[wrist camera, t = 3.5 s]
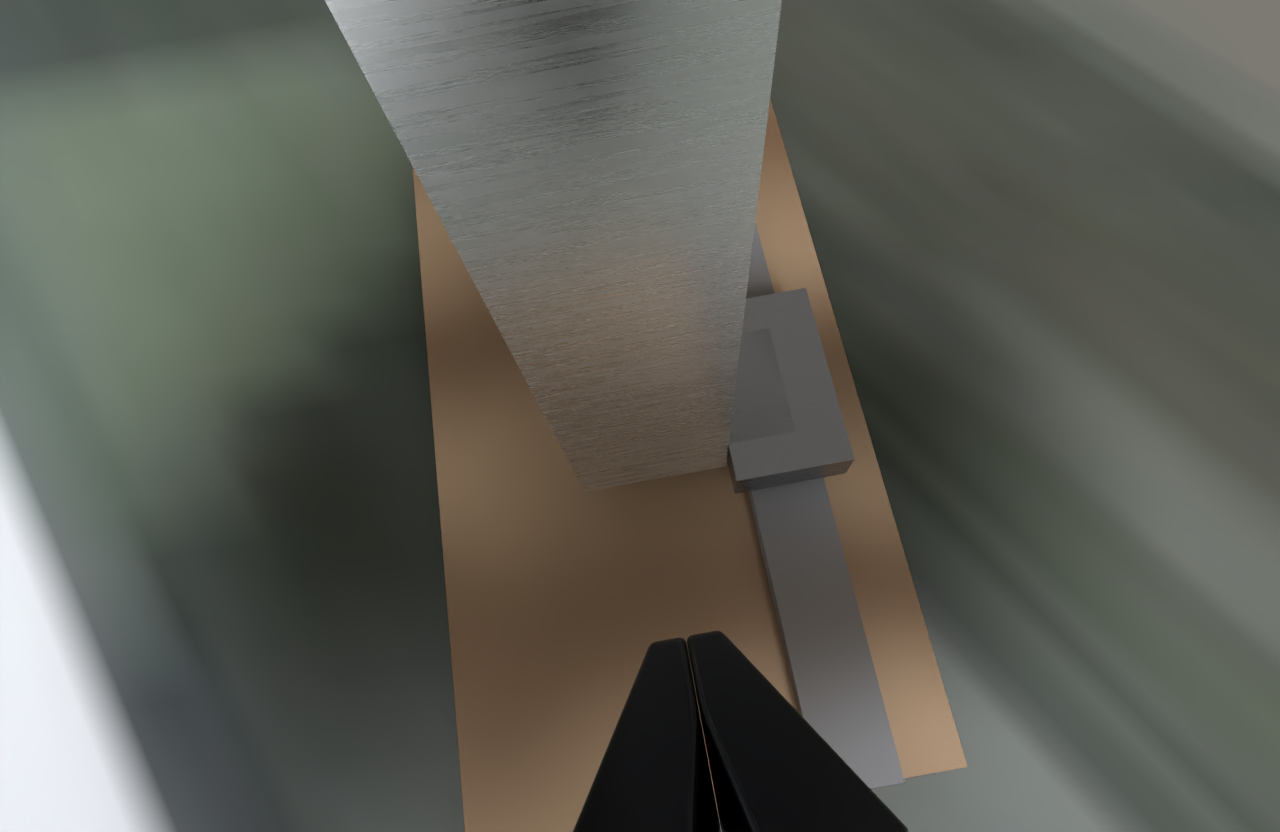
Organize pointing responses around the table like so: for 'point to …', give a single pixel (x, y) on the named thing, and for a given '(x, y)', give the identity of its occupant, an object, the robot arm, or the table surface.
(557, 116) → the sliding leg
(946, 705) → the bolt board
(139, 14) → the table surface
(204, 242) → the table surface
